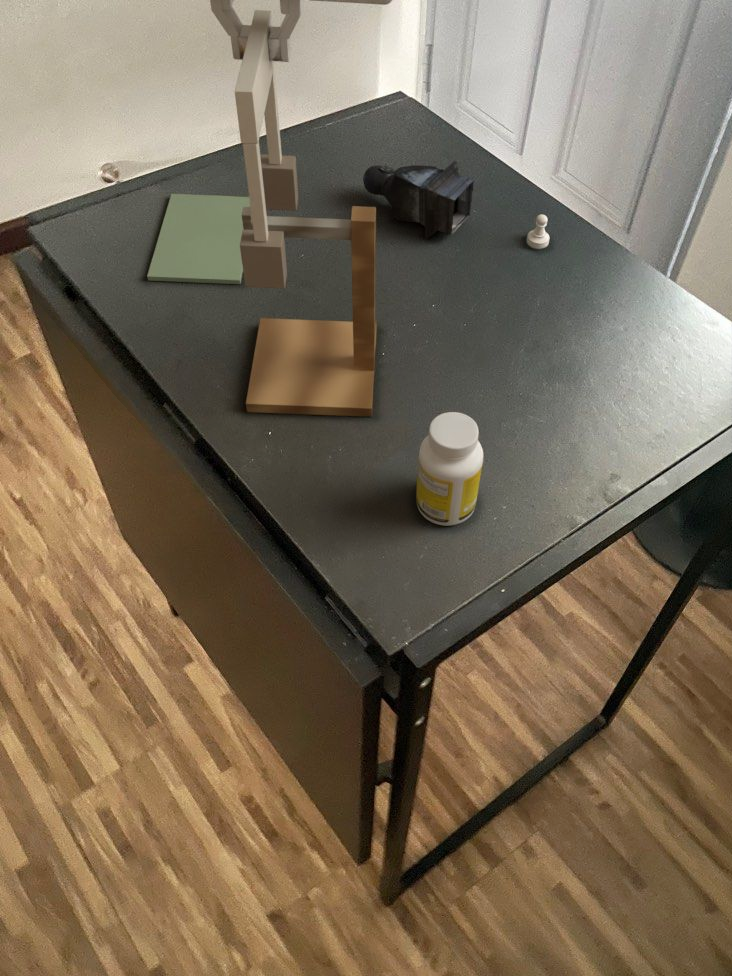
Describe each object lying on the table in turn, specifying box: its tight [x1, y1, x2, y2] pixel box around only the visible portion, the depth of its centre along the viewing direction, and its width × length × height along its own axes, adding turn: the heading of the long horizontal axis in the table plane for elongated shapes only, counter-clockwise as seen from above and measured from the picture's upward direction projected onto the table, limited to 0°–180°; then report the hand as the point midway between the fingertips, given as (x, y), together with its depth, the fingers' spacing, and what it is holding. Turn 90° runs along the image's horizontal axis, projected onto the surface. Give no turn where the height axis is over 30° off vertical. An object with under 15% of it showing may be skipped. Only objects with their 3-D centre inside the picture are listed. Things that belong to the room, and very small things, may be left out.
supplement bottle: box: [415, 411, 484, 527], centre depth 71 cm, size 5×5×10 cm
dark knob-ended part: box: [362, 160, 475, 239], centre depth 96 cm, size 6×13×6 cm, turn 60°
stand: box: [242, 205, 378, 418], centre depth 76 cm, size 12×12×18 cm
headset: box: [234, 9, 299, 290], centre depth 64 cm, size 3×12×16 cm, turn 179°
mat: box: [146, 193, 250, 285], centre depth 94 cm, size 10×15×1 cm, turn 179°
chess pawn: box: [526, 213, 550, 250], centre depth 95 cm, size 3×3×4 cm
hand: (262, 57), depth 62 cm, fingers closed on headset
